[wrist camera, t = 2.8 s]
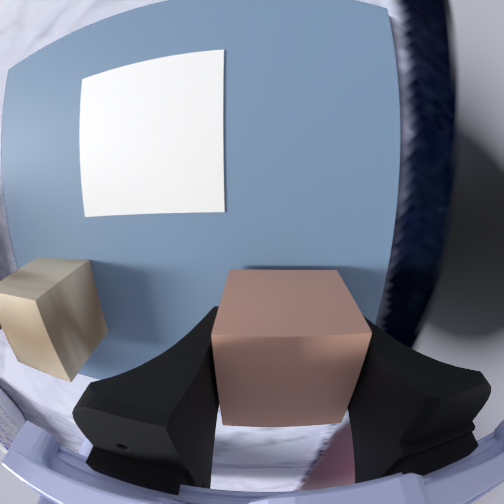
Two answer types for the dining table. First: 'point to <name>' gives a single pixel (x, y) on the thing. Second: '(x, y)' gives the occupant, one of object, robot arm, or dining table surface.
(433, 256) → the dining table surface
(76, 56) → the board
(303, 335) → the terracotta block
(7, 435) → the paper bowls
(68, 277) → the maple block
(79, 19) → the dining table surface
